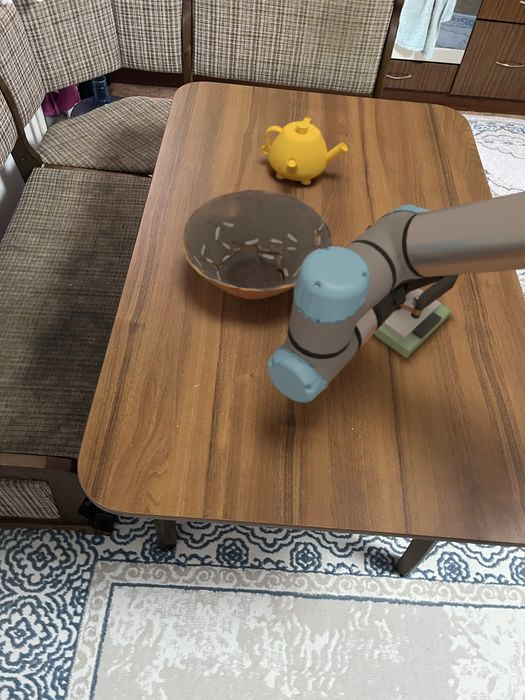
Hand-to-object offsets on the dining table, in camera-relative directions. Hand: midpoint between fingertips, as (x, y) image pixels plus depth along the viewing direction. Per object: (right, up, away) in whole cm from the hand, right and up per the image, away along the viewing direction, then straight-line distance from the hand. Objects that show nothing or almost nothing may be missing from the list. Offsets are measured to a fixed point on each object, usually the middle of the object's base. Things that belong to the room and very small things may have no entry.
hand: (434, 230), depth 83 cm
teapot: (-19, +19, +33) cm, 42 cm away
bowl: (-28, -5, +14) cm, 32 cm away
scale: (-4, -12, +10) cm, 17 cm away
